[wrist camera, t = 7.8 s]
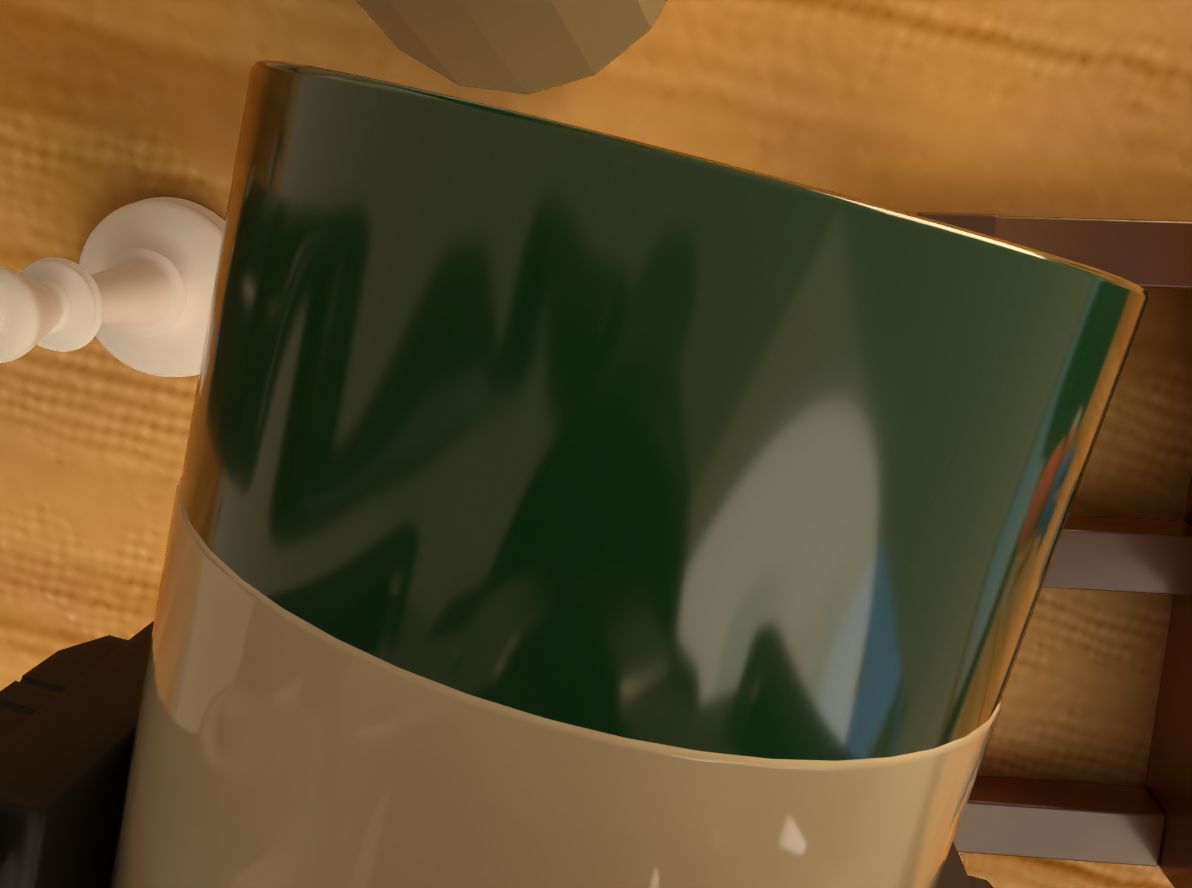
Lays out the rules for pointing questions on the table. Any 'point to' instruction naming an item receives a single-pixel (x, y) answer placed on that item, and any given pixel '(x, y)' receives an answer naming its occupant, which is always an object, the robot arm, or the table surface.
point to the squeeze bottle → (514, 37)
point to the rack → (1110, 563)
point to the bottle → (594, 513)
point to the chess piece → (123, 290)
